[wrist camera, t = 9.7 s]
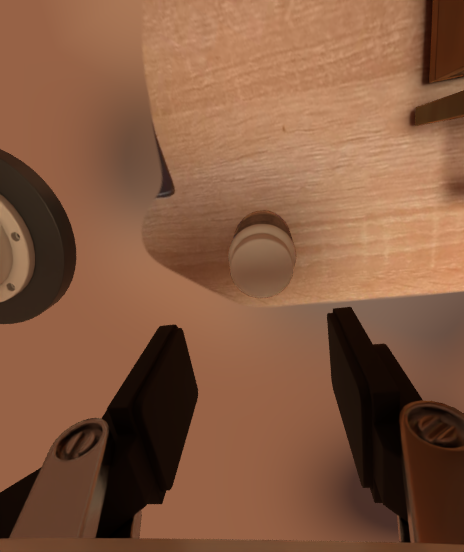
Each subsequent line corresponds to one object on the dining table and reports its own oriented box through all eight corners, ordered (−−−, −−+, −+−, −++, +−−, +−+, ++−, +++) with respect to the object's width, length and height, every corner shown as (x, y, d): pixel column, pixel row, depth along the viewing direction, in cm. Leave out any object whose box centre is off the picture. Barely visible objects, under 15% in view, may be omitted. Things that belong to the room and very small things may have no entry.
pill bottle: (228, 218, 26) (213, 243, 19) (282, 202, 25) (289, 222, 18) (244, 268, 28) (236, 311, 20) (295, 255, 27) (307, 294, 19)
